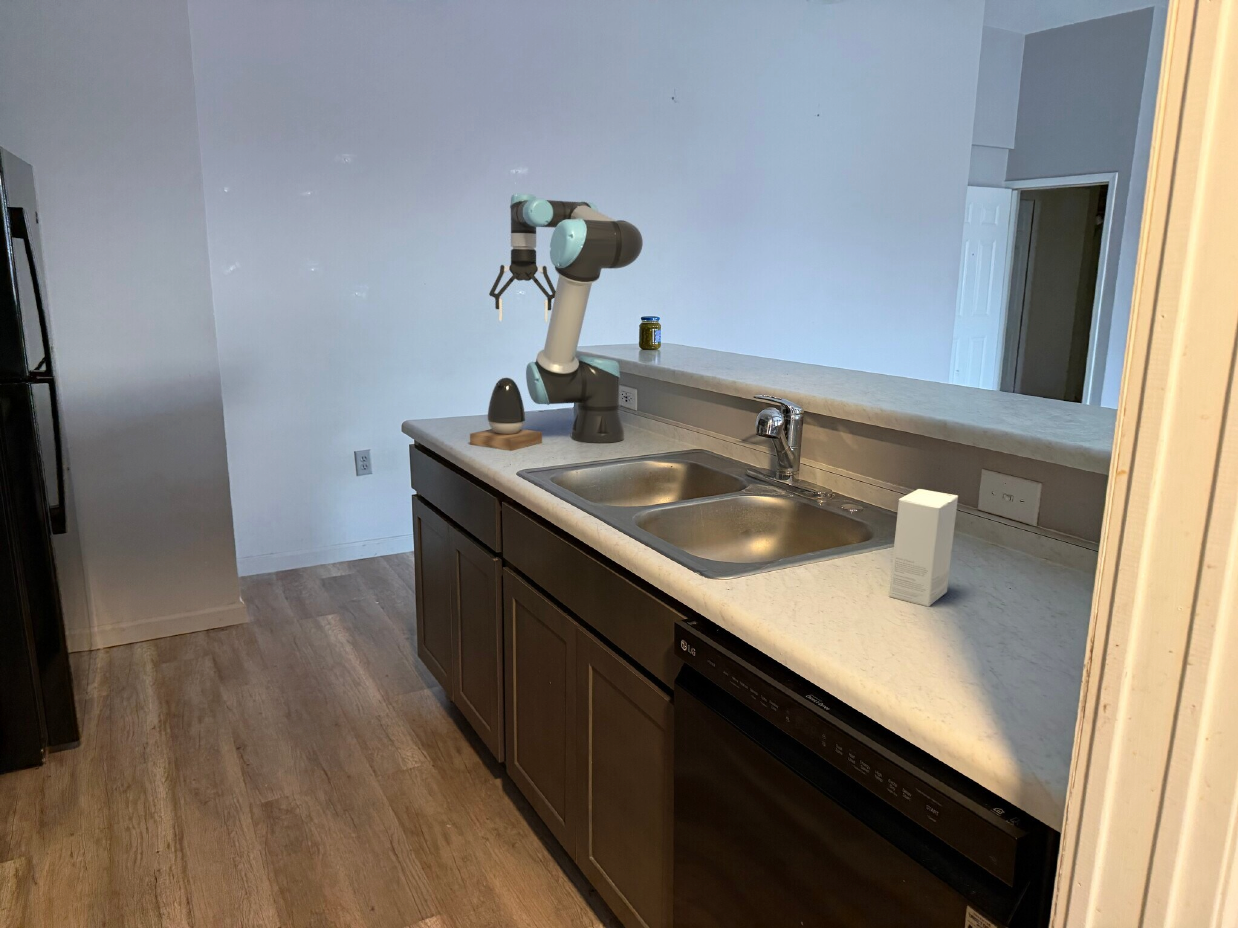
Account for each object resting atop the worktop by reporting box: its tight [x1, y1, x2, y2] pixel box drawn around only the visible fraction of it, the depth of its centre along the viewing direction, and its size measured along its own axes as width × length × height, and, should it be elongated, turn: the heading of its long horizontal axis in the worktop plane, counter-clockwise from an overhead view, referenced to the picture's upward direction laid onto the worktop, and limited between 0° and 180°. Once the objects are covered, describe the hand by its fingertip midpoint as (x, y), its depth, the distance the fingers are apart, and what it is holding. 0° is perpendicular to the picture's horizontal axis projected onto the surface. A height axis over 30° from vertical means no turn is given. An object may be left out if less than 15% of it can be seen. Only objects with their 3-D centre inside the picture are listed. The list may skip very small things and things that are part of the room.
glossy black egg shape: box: [487, 377, 526, 434], centre depth 243 cm, size 10×10×15 cm
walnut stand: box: [469, 428, 543, 451], centre depth 245 cm, size 14×14×3 cm
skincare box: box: [888, 488, 959, 607], centre depth 134 cm, size 8×7×16 cm
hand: (523, 321), depth 268 cm, fingers open, 13 cm apart
